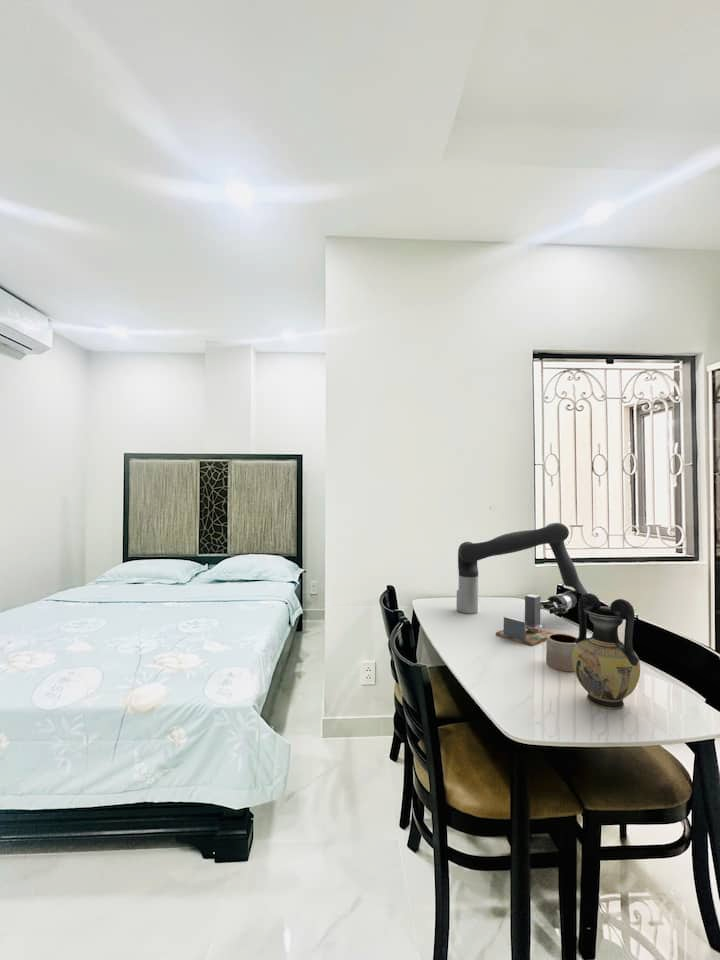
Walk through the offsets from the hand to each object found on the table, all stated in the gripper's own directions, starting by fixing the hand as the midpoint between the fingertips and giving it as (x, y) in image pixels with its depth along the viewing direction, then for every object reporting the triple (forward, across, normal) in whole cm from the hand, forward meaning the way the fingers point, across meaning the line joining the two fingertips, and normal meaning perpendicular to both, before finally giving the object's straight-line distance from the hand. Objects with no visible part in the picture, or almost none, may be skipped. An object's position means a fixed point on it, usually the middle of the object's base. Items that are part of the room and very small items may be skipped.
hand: (540, 609), depth 196 cm
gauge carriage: (+9, +1, +7) cm, 12 cm away
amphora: (+47, +45, +9) cm, 65 cm away
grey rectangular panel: (+20, 0, +8) cm, 21 cm away
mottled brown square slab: (+12, 0, +9) cm, 15 cm away
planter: (+31, +25, +9) cm, 41 cm away
